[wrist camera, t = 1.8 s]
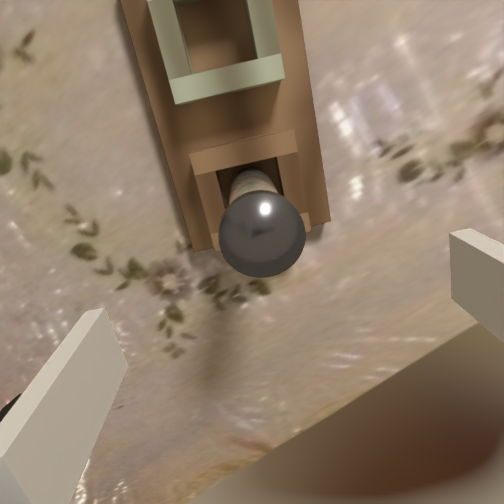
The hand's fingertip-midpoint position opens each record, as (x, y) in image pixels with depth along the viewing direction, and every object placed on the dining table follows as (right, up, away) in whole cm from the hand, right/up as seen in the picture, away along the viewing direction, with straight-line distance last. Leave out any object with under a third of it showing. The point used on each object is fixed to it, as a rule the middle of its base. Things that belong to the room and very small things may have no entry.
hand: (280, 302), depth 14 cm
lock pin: (-1, +8, +22) cm, 23 cm away
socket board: (-3, +15, +21) cm, 26 cm away
